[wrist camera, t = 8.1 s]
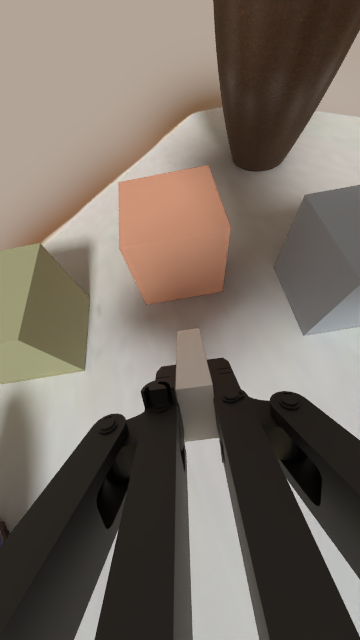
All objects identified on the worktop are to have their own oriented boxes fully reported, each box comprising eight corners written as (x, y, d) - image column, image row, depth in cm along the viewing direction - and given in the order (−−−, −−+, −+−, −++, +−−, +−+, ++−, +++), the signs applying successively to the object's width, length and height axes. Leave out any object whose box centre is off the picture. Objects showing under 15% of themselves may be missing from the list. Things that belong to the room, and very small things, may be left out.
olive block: (20, 311, 24) (-60, 261, 16) (90, 298, 23) (40, 243, 16) (2, 384, 20) (-110, 361, 13) (85, 370, 20) (17, 340, 13)
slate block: (273, 267, 23) (305, 194, 16) (349, 254, 22) (416, 174, 15) (303, 336, 19) (362, 282, 12) (394, 321, 19) (510, 257, 12)
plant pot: (295, 124, 34) (359, -87, 20) (329, 179, 28) (461, -80, 14) (203, 139, 35) (202, -53, 21) (215, 195, 29) (225, -31, 15)
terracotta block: (142, 249, 26) (118, 182, 19) (207, 237, 26) (208, 165, 18) (146, 305, 22) (119, 248, 15) (222, 291, 22) (230, 227, 15)
